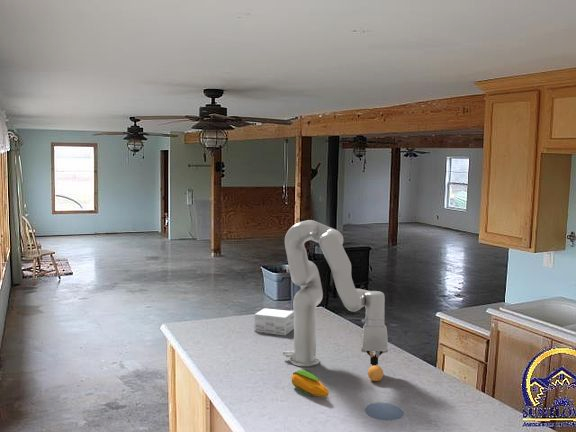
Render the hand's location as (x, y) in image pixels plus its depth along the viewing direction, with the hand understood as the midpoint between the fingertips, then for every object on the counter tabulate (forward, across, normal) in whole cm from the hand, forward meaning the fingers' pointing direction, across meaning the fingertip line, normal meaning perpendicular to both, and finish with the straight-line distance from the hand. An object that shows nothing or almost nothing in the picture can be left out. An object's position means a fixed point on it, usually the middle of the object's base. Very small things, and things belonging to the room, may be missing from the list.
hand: (374, 365), depth 223 cm
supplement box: (+2, -45, +53) cm, 69 cm away
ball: (0, 0, -9) cm, 9 cm away
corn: (+3, -26, -24) cm, 35 cm away
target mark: (+3, -1, -36) cm, 36 cm away
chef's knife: (+3, +1, +24) cm, 25 cm away
